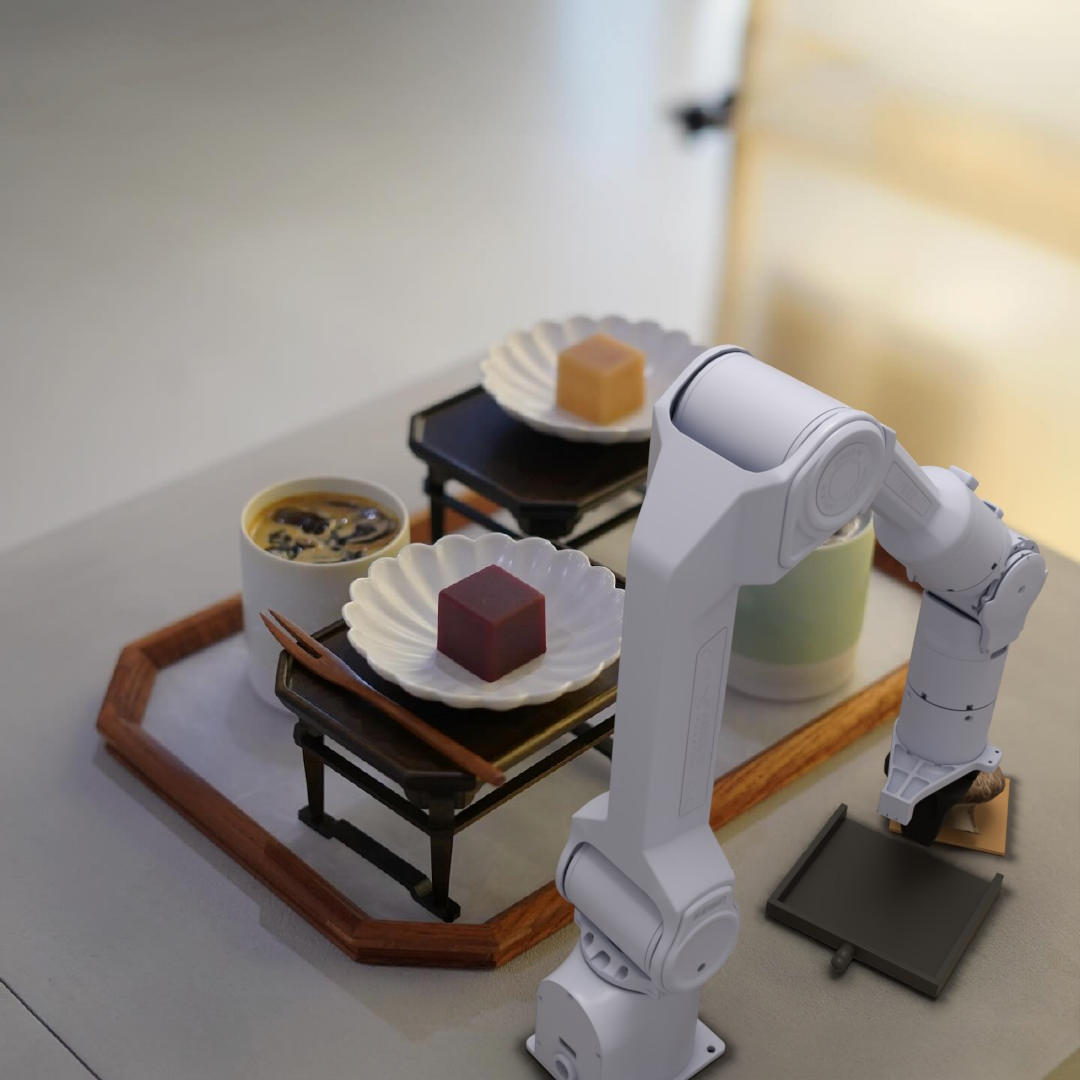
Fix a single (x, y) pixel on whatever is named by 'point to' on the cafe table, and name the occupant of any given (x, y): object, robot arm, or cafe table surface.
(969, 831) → the mushroom
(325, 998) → the cafe table surface
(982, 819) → the mat
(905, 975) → the pan
